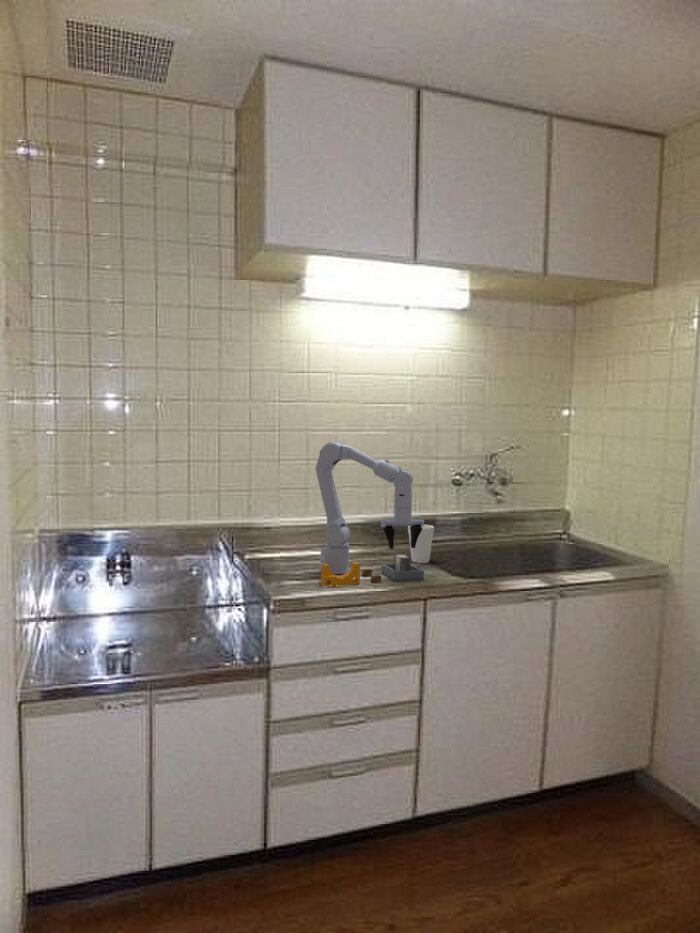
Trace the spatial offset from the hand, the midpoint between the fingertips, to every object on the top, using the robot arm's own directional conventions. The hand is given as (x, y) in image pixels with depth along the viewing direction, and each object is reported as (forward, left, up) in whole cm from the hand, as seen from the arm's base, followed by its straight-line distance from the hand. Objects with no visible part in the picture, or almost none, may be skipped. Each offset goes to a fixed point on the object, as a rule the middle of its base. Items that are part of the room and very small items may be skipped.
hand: (402, 548), depth 218 cm
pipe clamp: (-22, -6, -10) cm, 25 cm away
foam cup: (+15, +21, -10) cm, 27 cm away
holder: (-11, -1, -9) cm, 14 cm away
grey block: (0, 0, -9) cm, 9 cm away
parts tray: (0, 0, -9) cm, 9 cm away
